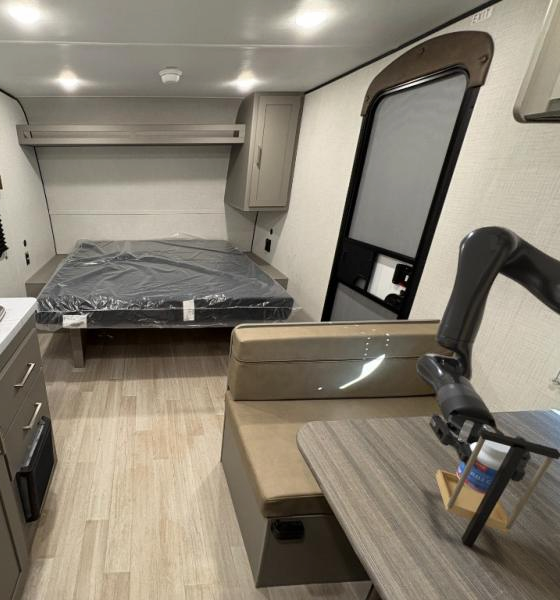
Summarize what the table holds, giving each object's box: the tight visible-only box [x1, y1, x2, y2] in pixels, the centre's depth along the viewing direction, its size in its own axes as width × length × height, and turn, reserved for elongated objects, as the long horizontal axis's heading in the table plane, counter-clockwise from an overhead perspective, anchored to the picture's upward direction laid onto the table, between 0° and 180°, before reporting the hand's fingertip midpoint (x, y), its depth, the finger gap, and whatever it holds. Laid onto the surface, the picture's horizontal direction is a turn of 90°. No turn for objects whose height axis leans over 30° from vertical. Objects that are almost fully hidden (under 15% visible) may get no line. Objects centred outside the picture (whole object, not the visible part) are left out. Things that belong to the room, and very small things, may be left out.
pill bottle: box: [456, 440, 510, 495], centre depth 57 cm, size 6×5×10 cm
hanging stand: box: [435, 430, 560, 548], centre depth 57 cm, size 9×9×25 cm
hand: (493, 469), depth 54 cm, fingers closed on pill bottle, 5 cm apart
